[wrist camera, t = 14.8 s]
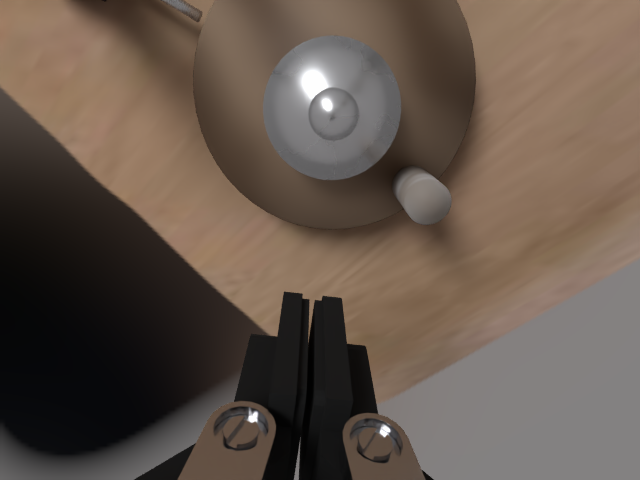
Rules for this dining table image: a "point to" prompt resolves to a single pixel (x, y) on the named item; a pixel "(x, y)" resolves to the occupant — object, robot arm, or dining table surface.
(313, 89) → the lid
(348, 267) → the dining table surface
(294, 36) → the turntable
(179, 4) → the lever with ball knob
